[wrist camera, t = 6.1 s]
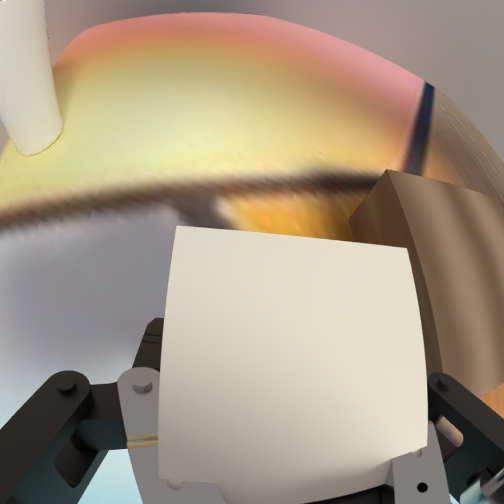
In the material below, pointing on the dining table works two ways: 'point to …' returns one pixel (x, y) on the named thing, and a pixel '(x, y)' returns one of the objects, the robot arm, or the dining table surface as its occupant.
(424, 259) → the walnut box
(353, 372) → the offwhite block
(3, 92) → the drinking glass
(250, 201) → the dining table surface
